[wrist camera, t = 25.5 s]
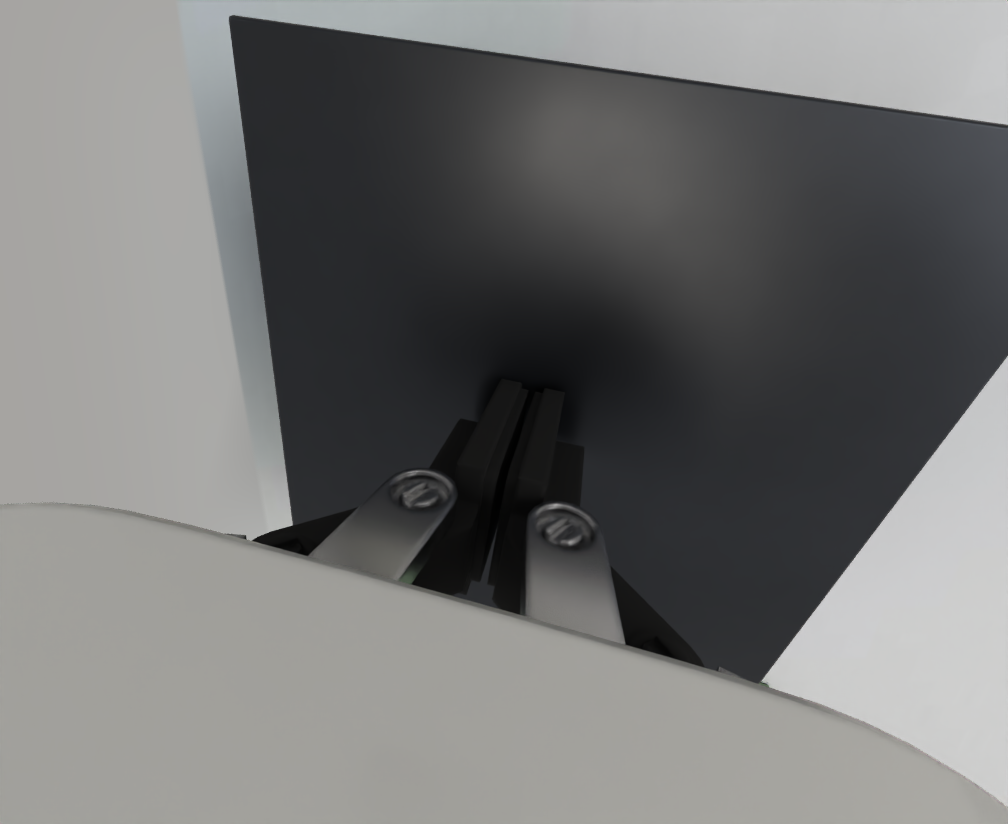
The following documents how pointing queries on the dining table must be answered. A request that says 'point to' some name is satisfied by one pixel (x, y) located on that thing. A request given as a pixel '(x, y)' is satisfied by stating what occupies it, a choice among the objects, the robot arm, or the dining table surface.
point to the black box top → (625, 299)
